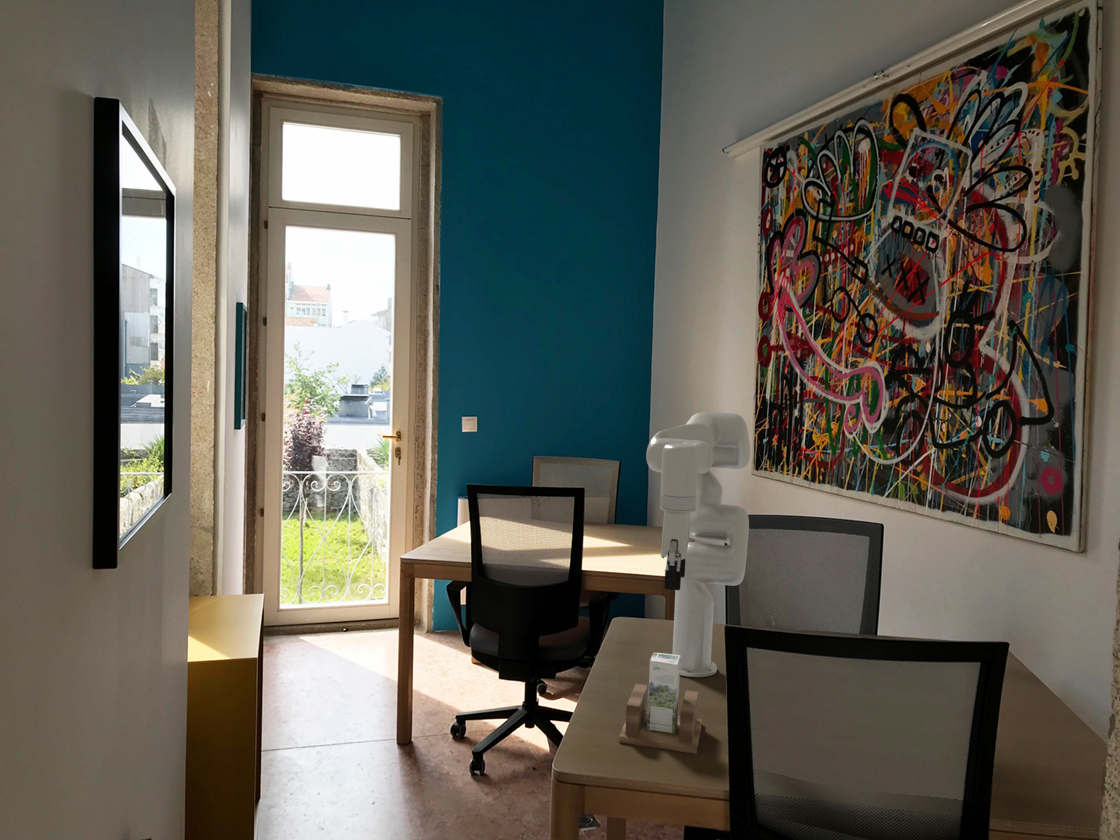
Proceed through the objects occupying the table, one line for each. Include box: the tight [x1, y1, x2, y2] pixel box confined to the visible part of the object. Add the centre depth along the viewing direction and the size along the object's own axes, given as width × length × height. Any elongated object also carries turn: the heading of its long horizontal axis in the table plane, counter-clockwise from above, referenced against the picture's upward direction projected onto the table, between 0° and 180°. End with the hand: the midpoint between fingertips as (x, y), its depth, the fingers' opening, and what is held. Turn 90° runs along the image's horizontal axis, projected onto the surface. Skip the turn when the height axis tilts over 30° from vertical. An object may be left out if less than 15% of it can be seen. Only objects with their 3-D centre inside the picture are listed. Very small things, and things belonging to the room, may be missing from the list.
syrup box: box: [647, 651, 681, 734], centre depth 163 cm, size 6×6×14 cm
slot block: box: [618, 683, 703, 755], centre depth 163 cm, size 14×15×7 cm
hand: (674, 582), depth 171 cm, fingers open, 9 cm apart
